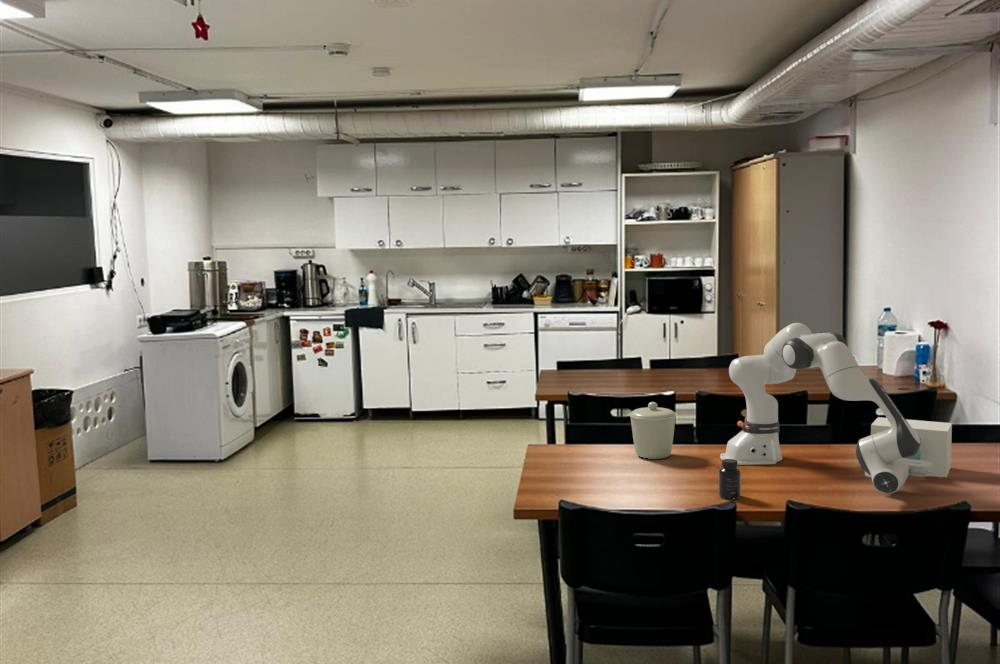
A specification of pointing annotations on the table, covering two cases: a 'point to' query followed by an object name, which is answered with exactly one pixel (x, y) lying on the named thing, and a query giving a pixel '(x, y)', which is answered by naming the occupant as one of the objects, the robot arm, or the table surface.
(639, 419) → the canister
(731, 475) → the supplement bottle
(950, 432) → the knob mount
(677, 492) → the table surface
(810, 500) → the table surface
